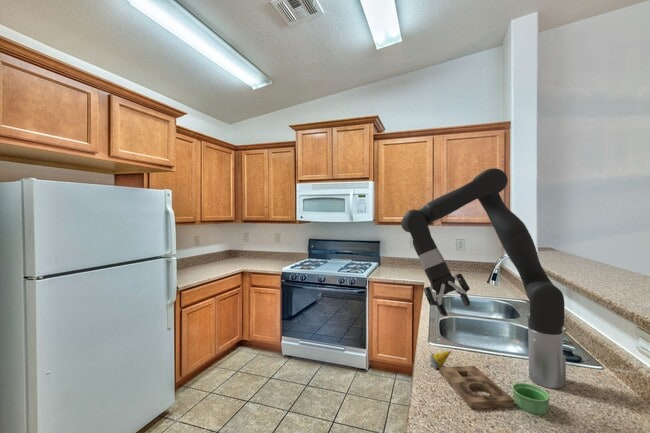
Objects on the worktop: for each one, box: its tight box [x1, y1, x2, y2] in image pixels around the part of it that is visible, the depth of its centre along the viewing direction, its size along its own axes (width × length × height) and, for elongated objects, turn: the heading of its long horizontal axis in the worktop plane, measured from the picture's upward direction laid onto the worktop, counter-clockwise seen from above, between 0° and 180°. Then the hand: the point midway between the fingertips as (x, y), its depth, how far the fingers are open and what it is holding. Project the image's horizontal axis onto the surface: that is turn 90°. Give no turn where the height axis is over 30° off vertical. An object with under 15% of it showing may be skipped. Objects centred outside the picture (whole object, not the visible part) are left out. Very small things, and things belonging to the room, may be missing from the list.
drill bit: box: [430, 350, 452, 370], centre depth 108 cm, size 5×5×10 cm
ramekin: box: [512, 382, 551, 416], centre depth 86 cm, size 9×9×4 cm
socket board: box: [438, 365, 515, 410], centre depth 95 cm, size 13×20×2 cm, turn 4°
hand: (456, 310), depth 96 cm, fingers open, 8 cm apart
